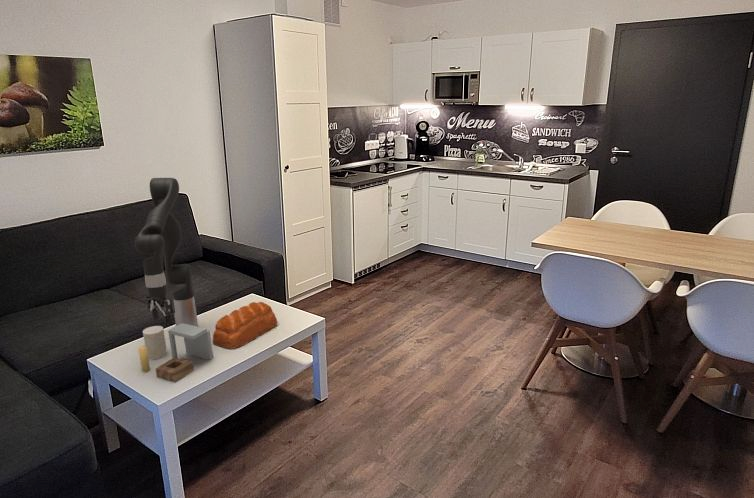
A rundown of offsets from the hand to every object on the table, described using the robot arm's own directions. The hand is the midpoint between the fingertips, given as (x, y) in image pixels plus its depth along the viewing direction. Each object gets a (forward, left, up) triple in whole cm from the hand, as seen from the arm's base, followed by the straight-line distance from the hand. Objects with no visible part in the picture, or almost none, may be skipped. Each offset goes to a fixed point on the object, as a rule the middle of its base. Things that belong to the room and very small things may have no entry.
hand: (162, 321), depth 204 cm
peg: (-6, -6, -20) cm, 22 cm away
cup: (-12, +5, -21) cm, 24 cm away
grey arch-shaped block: (+6, +7, -20) cm, 22 cm away
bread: (+10, +37, -21) cm, 44 cm away
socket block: (+8, -4, -20) cm, 22 cm away
